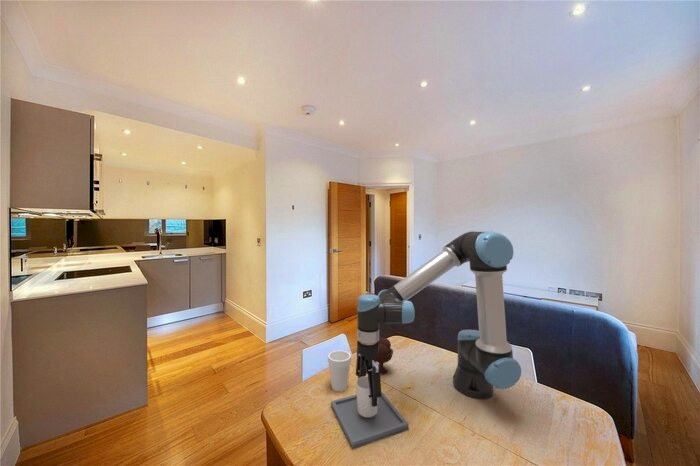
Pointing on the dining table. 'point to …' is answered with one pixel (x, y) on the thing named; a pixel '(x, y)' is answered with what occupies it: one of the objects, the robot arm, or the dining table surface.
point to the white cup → (363, 396)
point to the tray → (368, 421)
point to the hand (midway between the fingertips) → (367, 405)
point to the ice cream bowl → (384, 353)
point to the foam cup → (339, 369)
